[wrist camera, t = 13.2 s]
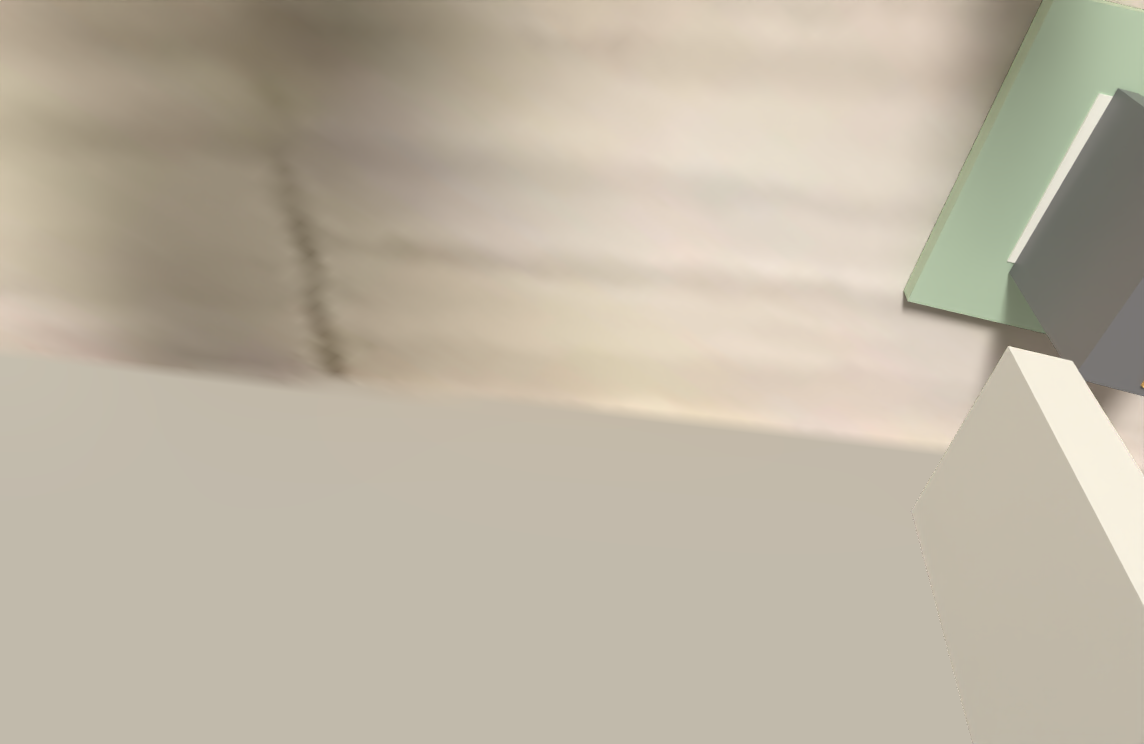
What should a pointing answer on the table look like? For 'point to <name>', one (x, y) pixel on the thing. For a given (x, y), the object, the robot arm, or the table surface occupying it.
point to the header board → (1027, 155)
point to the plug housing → (1095, 254)
